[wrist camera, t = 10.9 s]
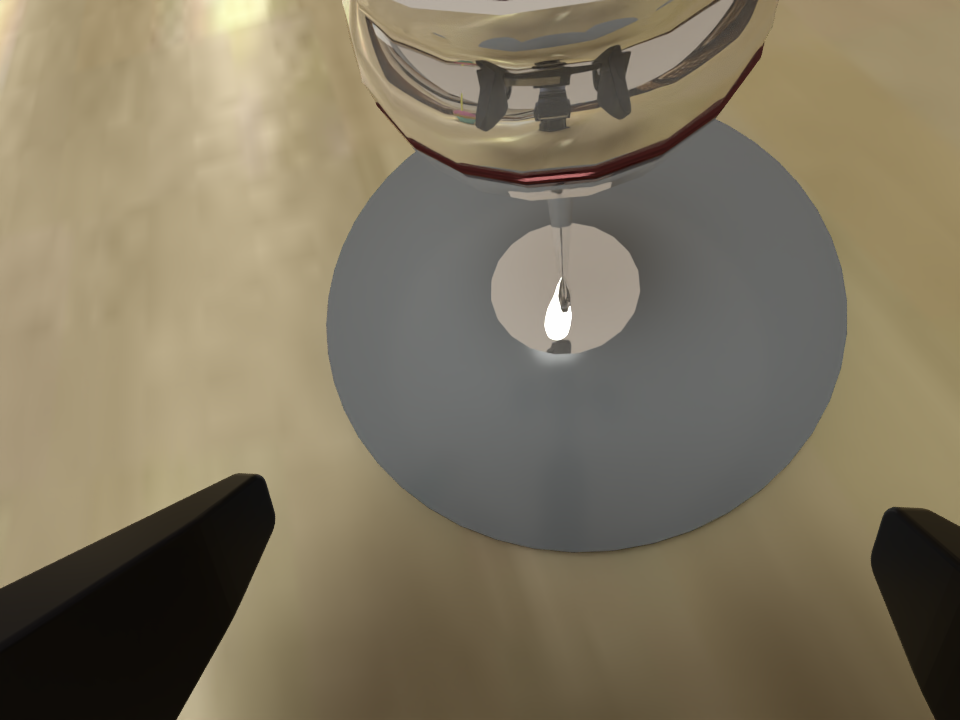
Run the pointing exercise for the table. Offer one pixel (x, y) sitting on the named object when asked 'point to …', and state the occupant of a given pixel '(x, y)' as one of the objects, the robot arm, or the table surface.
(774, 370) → the slate plate
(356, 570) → the table surface
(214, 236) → the table surface
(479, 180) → the wineglass
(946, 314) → the table surface
